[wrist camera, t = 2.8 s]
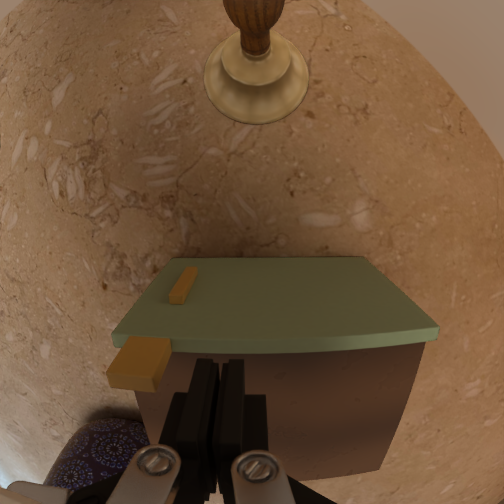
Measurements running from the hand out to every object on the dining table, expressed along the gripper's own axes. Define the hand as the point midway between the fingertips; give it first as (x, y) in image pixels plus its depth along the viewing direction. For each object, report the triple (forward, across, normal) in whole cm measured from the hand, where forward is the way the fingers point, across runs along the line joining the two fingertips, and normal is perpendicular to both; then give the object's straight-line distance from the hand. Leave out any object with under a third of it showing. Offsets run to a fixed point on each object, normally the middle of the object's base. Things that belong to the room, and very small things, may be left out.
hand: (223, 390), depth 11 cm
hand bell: (+16, -1, -15) cm, 22 cm away
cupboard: (+16, -2, +7) cm, 18 cm away
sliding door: (+16, -2, 0) cm, 16 cm away
